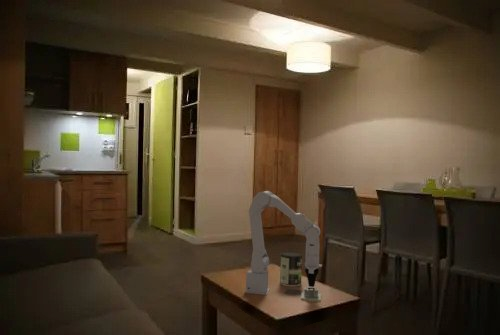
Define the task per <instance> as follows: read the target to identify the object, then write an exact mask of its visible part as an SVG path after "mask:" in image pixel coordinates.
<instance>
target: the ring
mask: <svg viewBox="0 0 500 335" xmlns="http://www.w3.org/2000/svg"><path fill="white" fill-rule="evenodd" d="M309 289H313V290H309ZM303 290H304V291H303V292H304V296H305V297H307V298H317V297H318V293H319V288H318V287H315V286H314V287H309V286H305V287H304V289H303Z"/></svg>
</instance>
